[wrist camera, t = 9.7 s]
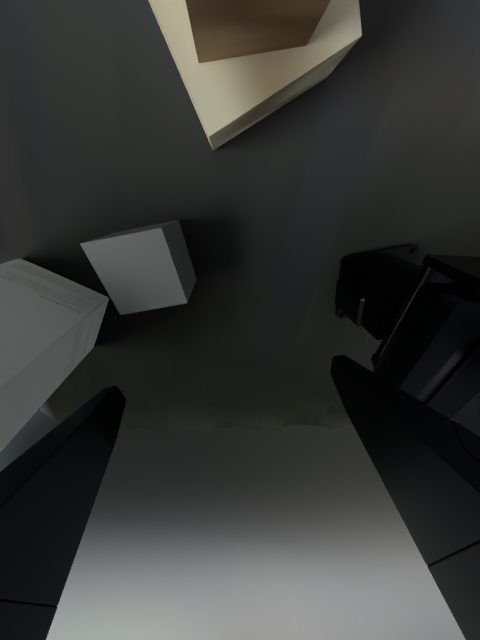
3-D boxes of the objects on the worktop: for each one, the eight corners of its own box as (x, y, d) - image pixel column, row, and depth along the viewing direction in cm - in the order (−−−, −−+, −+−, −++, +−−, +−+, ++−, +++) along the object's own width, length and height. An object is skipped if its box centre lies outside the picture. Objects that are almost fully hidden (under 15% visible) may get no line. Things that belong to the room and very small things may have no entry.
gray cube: (179, 219, 16) (161, 227, 12) (196, 278, 18) (187, 303, 14) (118, 231, 16) (79, 243, 12) (144, 288, 19) (120, 315, 14)
